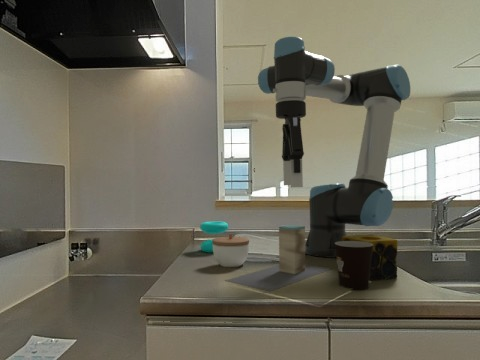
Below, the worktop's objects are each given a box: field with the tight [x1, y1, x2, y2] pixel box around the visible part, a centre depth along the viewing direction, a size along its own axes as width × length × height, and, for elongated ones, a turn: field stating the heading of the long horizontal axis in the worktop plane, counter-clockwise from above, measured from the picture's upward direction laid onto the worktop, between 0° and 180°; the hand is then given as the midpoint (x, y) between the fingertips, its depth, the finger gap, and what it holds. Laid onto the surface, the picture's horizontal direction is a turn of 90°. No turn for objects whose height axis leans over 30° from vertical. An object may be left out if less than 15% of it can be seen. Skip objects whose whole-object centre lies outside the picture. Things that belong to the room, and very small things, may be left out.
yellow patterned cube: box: [342, 234, 398, 282], centre depth 101 cm, size 10×10×10 cm
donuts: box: [199, 220, 229, 253], centre depth 137 cm, size 10×10×10 cm
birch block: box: [278, 224, 306, 274], centre depth 105 cm, size 5×5×12 cm
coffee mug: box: [335, 241, 373, 292], centre depth 92 cm, size 12×9×10 cm
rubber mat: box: [224, 263, 332, 292], centre depth 101 cm, size 28×14×1 cm, turn 138°
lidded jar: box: [211, 233, 250, 268], centre depth 113 cm, size 11×11×9 cm
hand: (292, 186), depth 98 cm, fingers open, 13 cm apart
